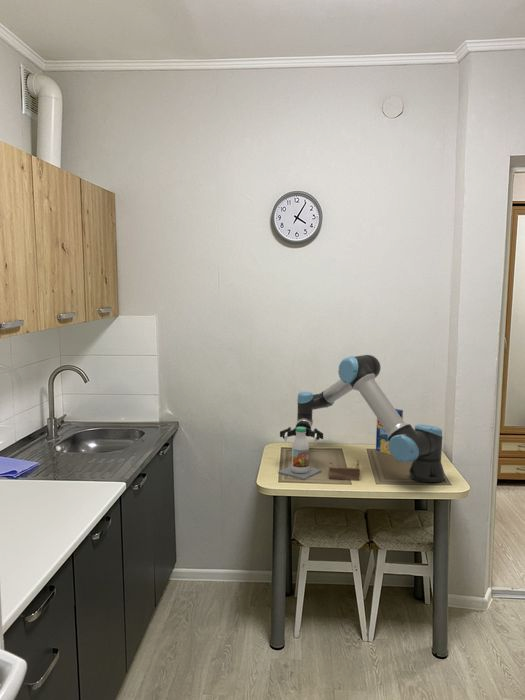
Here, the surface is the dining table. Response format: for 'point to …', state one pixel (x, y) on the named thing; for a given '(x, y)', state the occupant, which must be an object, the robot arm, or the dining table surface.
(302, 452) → the milk bottle
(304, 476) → the grey tile
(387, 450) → the beverage box
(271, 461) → the dining table surface
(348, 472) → the wooden frame
